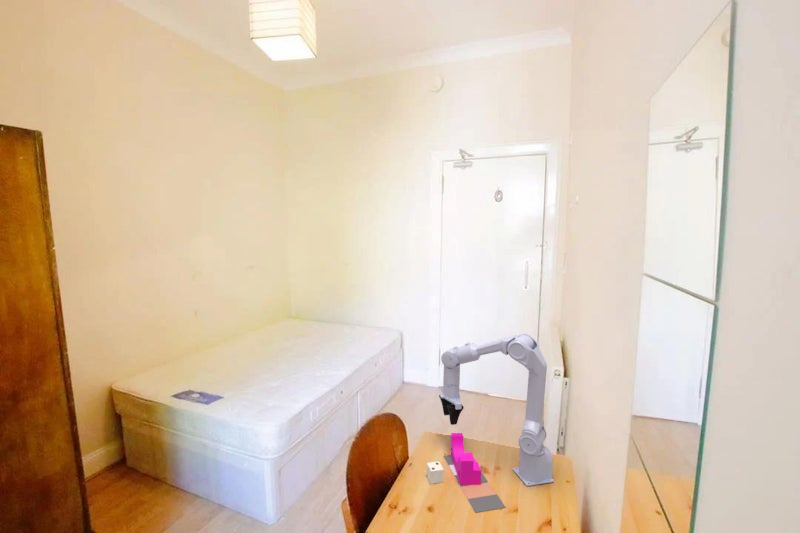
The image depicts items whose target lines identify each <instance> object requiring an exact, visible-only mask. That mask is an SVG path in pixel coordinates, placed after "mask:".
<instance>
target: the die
mask: <svg viewBox="0 0 800 533" xmlns="http://www.w3.org/2000/svg"><path fill="white" fill-rule="evenodd" d="M444 472H445V471H444V467H443V466H442V464H441V462H440V461H431V462H430V461H429V462H427V463H426V477H427V479H428V481H429V484H430V485H432V484H439V483H444Z"/></svg>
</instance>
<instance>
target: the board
mask: <svg viewBox="0 0 800 533" xmlns="http://www.w3.org/2000/svg"><path fill="white" fill-rule="evenodd" d="M443 459H444V460H445V462H446V464H447V465H448V467H449V469H450V471H451V473H452V474H453V475H454V478H455V477H456V478H455V479H456V481H457V483H458V485H459V486H460V488H461V490H462V492H463V493H464V495H465V497H466V499H467V501H468V502H469V504H470V506H471V508H472V510H473V512H474V513H475V514H478V513H483V512H484V513H485V512H490V511H495V510H500V509H506V505H505V504H504V503H503V502H502V500H501V499H500V497H499V495H498V494H497V493H496V491H495V490H494V488H493V487H492V485H491V483H489V481H488V480H487V478H486V477H485V475H484V474H483V473H482V471H481V485H460V483H459V479H458V476H457V473H456V470H455V466H454V463H453V460H452V457H451V454H448V455H446V454H445V455H444V456H443Z"/></svg>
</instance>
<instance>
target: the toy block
mask: <svg viewBox="0 0 800 533" xmlns="http://www.w3.org/2000/svg"><path fill="white" fill-rule="evenodd" d="M464 438H465V437H464V434H463V433H462V432H452V433H450V455H451V457H452V460H453V463H454V466H455V470H456V473H457V476H458V479H459V483H460V485H481V472H482V468H481V466H480V464H479V461H476V460H475V457H474V454H473V452H471V451H470V452H465V440H464ZM459 483H458V484H459ZM460 485H459V486H460Z"/></svg>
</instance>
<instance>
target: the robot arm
mask: <svg viewBox="0 0 800 533" xmlns="http://www.w3.org/2000/svg"><path fill="white" fill-rule="evenodd" d="M539 346H540V345H539V342H538V341H536V339H534V337H532V336H531V335H529V334H527V333H522V334H519V335H511V336H507V337H502V338H499V339H496V340H492V341H489V342H486V343H483V344H480V345H477V344H475V343H470V342H466V343H464V345H461V346H457V345H455V346H454V347H451V348H449V349H448V350H446V351H444V352H443V353H442V354H441V358H440V359H441V364H442V365H443V380H442V383H443V384H442V386H441V388H440V389H441V393H440V394H439V395H438V397H439V399H440V403H441V406H442V410H443V411H442V412H443V415H444V416H449V423H450V425H451V426H454V425H457V424H458V422H459V418H460V415H461V413H462V412H463V410H464V409H465V408H464V407H465V406H464V405H463V404H462V403H461V396H460V384H461V383H460V380H461V377H460V376H461V365H464V364H468V363H471V362H475V361H478V360H479V359H480V358H481V356H485V355H490V354H494V353H498V352H501V353H502V354H503V355H504V356H509V358H512V359H513V360H514V361H515V362H517V363H519V364H521V365H522V366H524V368H526V370H527V371H528V379H527V389H526V390H527V393H526V405H525V417H524V418H525V419H524V423H523V426H522V431H521V435H520V436H519V437H518V446H519V455H518V457H519V460H518V467H517V466H516V467H513V468H512V470H513V472H514V473H515V474H516V475H517V476H518V477H519V479H520V481H521V482H522V483H523V484H524V485H525V486H526V487H531V486H538V485H542V484H550V483H554V482H555V481H554V480H555V479H553V467H554V458H553V455H552V452H551V450H550V449H549V447H547V446H545V445H544V444H543V443H544V441H545V440H546V438H547V431H546V429H545V421H544V420H543V417H544V407H545V406H544V405H545V394H546V381H547V369H548V368H547V367H548V365H547V361H546V360H545V358H544V356H543V353H542V351H541V349H540V347H539Z"/></svg>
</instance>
